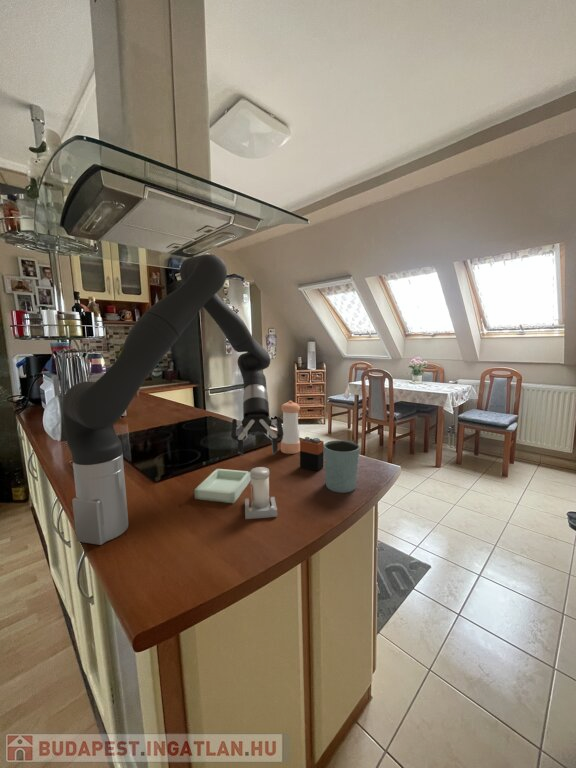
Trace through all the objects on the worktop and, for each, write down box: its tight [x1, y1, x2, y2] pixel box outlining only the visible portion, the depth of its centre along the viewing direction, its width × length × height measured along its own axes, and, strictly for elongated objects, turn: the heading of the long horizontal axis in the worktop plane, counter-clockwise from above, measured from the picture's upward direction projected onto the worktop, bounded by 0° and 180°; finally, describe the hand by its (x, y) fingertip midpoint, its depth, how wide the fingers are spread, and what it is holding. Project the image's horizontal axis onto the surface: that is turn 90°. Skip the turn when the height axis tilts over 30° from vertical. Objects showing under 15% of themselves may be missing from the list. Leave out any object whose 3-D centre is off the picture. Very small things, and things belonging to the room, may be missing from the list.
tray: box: [193, 468, 251, 504], centre depth 90 cm, size 14×11×3 cm
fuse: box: [250, 466, 271, 509], centre depth 79 cm, size 5×5×10 cm
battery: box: [299, 436, 325, 472], centre depth 104 cm, size 4×7×10 cm, turn 57°
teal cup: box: [323, 440, 360, 494], centre depth 91 cm, size 10×10×12 cm
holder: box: [244, 496, 278, 520], centre depth 79 cm, size 7×8×2 cm
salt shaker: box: [280, 400, 301, 455], centre depth 119 cm, size 7×7×19 cm
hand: (258, 454), depth 85 cm, fingers open, 8 cm apart
